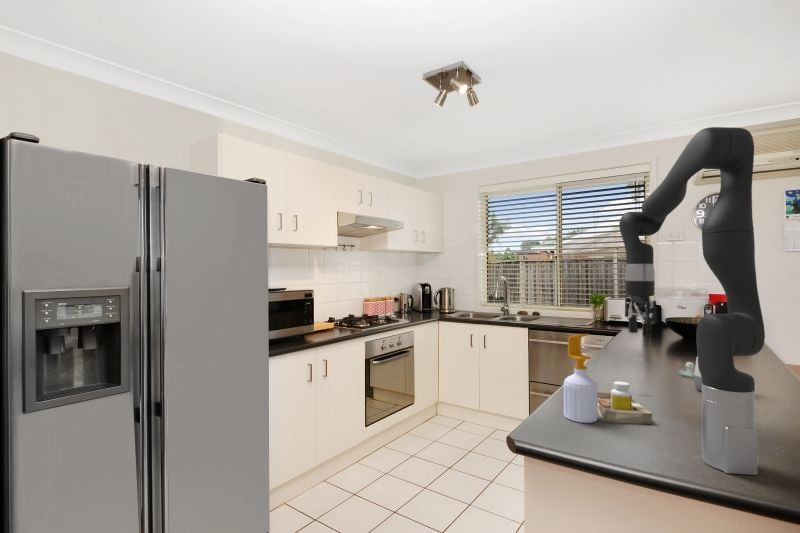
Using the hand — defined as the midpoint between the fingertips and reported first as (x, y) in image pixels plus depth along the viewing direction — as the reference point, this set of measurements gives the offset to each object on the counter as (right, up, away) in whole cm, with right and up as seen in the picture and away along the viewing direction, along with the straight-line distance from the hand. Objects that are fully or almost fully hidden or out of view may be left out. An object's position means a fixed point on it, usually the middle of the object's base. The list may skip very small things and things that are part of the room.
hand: (639, 334), depth 123 cm
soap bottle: (-18, -24, -2) cm, 30 cm away
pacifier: (+46, -25, +45) cm, 69 cm away
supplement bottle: (-6, -24, 0) cm, 25 cm away
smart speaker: (+38, -24, +24) cm, 51 cm away
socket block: (-5, -24, +5) cm, 25 cm away
